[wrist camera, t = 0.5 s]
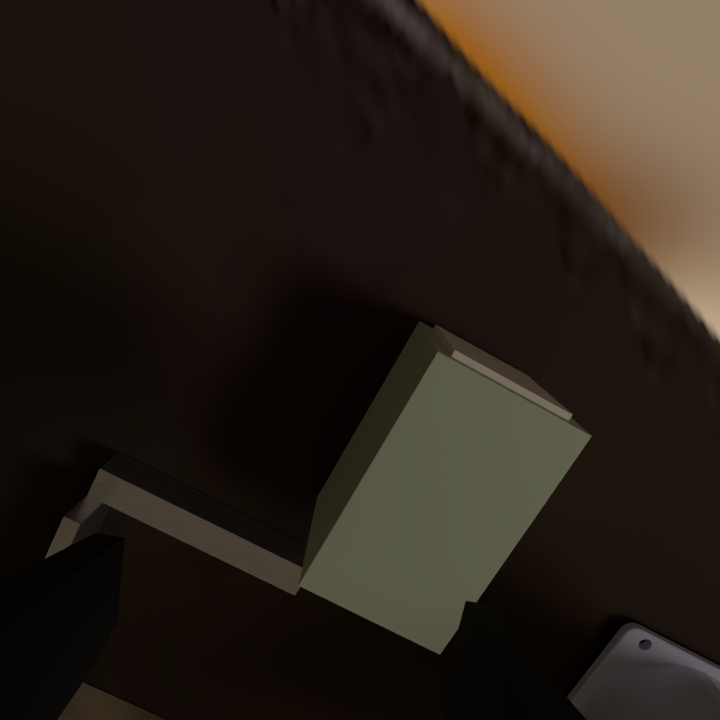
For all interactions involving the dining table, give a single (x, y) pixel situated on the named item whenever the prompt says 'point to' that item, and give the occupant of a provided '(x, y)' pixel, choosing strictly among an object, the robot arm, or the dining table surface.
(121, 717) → the base board
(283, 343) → the dining table surface
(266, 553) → the grey l-shaped piece
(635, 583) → the dining table surface
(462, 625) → the robot arm
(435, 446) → the cabinet block
